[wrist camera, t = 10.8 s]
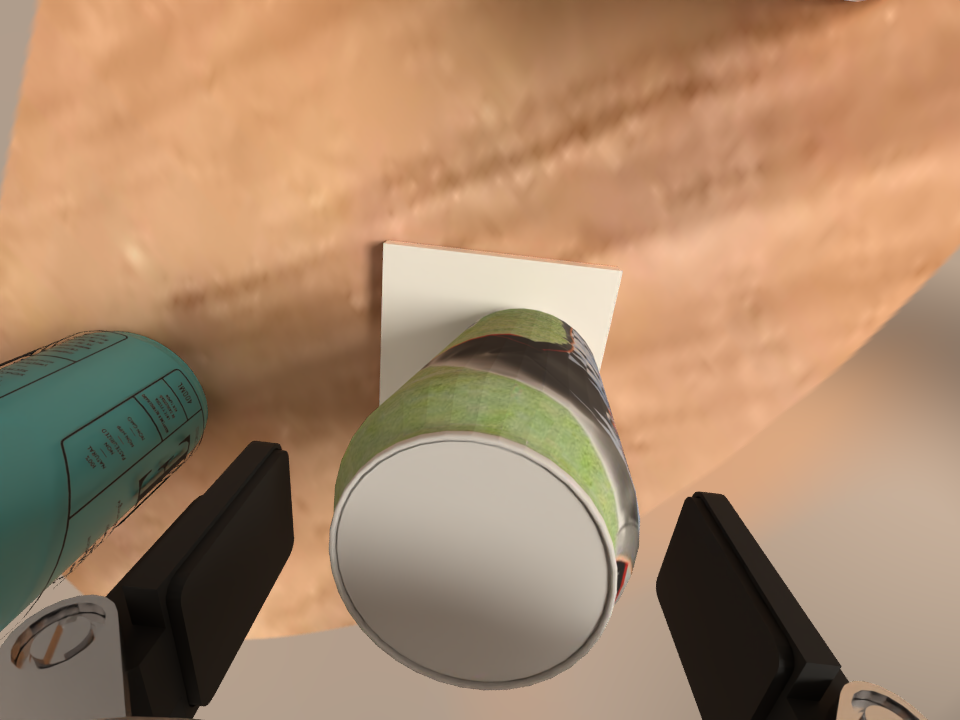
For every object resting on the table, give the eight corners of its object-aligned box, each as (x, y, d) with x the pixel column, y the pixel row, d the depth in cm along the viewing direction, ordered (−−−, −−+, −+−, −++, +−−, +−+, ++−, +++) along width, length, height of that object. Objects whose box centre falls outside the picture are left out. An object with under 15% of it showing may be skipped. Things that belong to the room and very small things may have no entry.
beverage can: (520, 462, 20) (524, 801, 9) (391, 354, 19) (213, 601, 8) (630, 368, 18) (804, 654, 7) (495, 240, 17) (456, 350, 6)
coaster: (388, 240, 18) (383, 243, 17) (617, 266, 18) (622, 271, 17) (382, 436, 21) (378, 446, 21) (574, 458, 21) (577, 468, 21)
